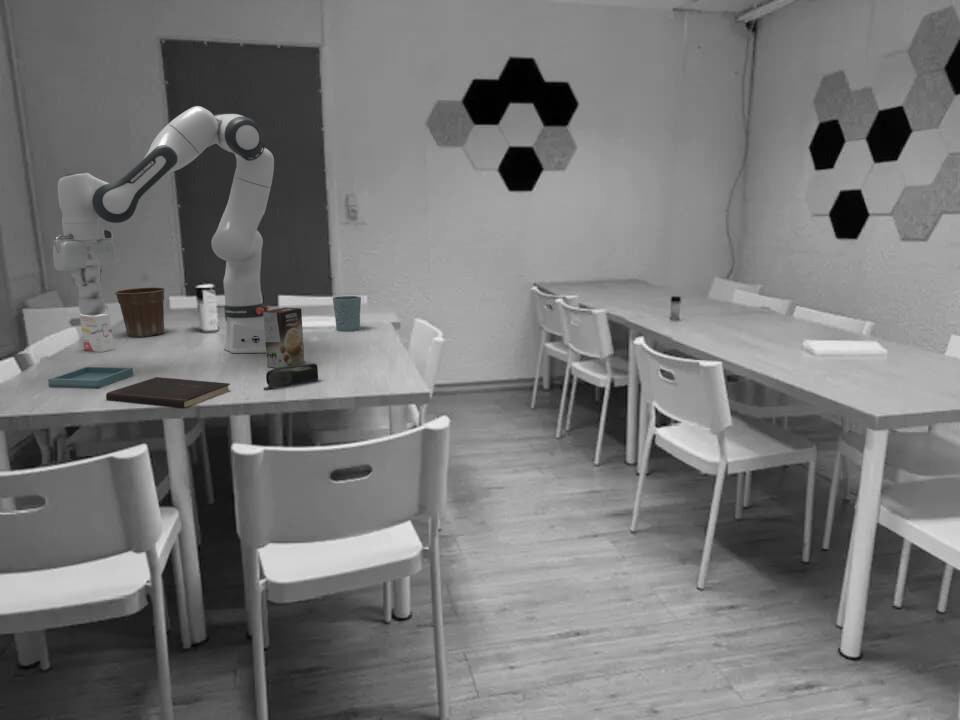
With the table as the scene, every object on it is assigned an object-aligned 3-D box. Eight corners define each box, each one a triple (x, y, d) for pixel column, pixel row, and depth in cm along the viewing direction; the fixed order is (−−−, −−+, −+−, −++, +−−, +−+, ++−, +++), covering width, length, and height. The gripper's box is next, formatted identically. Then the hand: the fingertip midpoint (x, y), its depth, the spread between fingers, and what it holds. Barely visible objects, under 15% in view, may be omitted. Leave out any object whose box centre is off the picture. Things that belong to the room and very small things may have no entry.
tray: (133, 374, 186) (132, 367, 185) (98, 388, 172) (97, 380, 172) (87, 373, 188) (86, 366, 187) (49, 386, 174) (47, 379, 174)
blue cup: (330, 331, 247) (328, 298, 244) (340, 326, 257) (338, 295, 254) (357, 332, 245) (355, 299, 243) (366, 327, 255) (364, 295, 252)
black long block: (314, 361, 179) (259, 369, 169) (319, 363, 177) (264, 371, 167) (314, 380, 180) (260, 388, 170) (320, 382, 178) (265, 391, 168)
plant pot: (117, 340, 236) (111, 294, 232) (123, 332, 250) (117, 288, 247) (168, 336, 241) (163, 291, 238) (171, 329, 256) (166, 286, 253)
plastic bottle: (95, 317, 187) (86, 244, 183) (74, 316, 189) (65, 243, 184) (112, 314, 193) (104, 243, 189) (91, 313, 195) (83, 242, 190)
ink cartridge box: (83, 350, 219) (76, 305, 216) (97, 347, 224) (91, 303, 220) (101, 352, 216) (95, 306, 212) (115, 349, 220) (109, 304, 217)
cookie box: (283, 369, 191) (279, 312, 187) (266, 367, 193) (261, 311, 190) (305, 362, 199) (301, 308, 195) (288, 360, 201) (284, 306, 198)
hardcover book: (157, 385, 177) (156, 376, 176) (230, 392, 169) (229, 383, 169) (106, 402, 162) (105, 393, 161) (184, 410, 155) (183, 400, 154)
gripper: (64, 235, 175) (72, 288, 178) (117, 232, 195) (123, 280, 198) (42, 235, 176) (51, 288, 179) (97, 232, 196) (103, 280, 199)
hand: (89, 284), depth 189 cm, fingers closed on plastic bottle, 5 cm apart
